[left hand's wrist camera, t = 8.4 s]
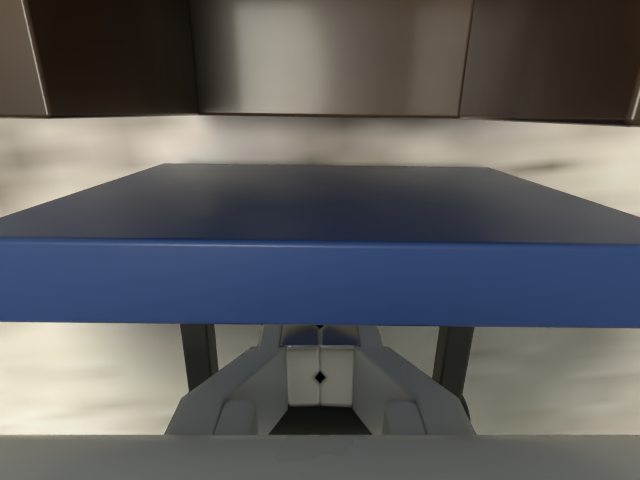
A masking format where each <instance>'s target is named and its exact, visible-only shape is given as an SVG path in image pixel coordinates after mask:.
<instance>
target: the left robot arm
mask: <svg viewBox="0 0 640 480" xmlns="http://www.w3.org/2000/svg"><path fill="white" fill-rule="evenodd" d="M288 407H353V410H354V412H355V413H356V414H357V415H358V417H359V418H360V419H361V421H362V422H363V423H364V425H365V426H366V427H367V428H368V430H369V431H370V432H371V434H372V435H268V434H269V433H270V432H271V430H272V429H273V428H274V426H275V425H276V424H277V423H278V421H279V420H280V419H281V417H282V416H283V415H284V414H285V412H286V411H287V410H288ZM0 480H640V435H476V433H475V431H474V429H473V427H472V425H471V423H470V421H469V418H468V416H467V414H466V412H465V410H464V408H463V406H462V404H461V402H460V399H459V398H458V397H456V396H455V395H454V394H452V393H451V392H449V391H448V390H447V389H445V388H444V387H443V386H441V385H440V384H438V383H437V382H436V381H434V380H433V379H432V378H430V377H429V376H427V375H426V374H425V373H423V372H422V371H421V370H419V369H418V368H416V367H415V366H414V365H412V364H411V363H410V362H408V361H407V360H405V359H404V358H403V357H401V356H400V355H399V354H397V353H396V352H395V351H393V350H392V349H390V348H389V347H383V345H382V341H381V338H380V334H379V330H378V326H369V325H270V324H263V327H262V331H261V334H260V338H259V342H258V346H257V347H251V348H250V349H248V350H247V351H246V352H244V353H243V354H242V355H240V356H239V357H237V358H236V359H235V360H233V361H232V362H231V363H229V364H228V365H226V366H225V367H224V368H222V369H221V370H220V371H218V372H217V373H215V374H214V375H213V376H211V377H210V378H209V379H207V380H206V381H204V382H203V383H202V384H200V385H199V386H197V387H196V388H195V389H193V390H192V391H191V392H189V393H188V394H186V395H185V396H184V397H182V398H181V400H180V402H179V405H178V407H177V409H176V411H175V413H174V415H173V417H172V419H171V421H170V423H169V425H168V428H167V430H166V432H165V434H164V435H0Z"/></svg>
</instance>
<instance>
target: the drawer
mask: <svg viewBox="0 0 640 480" xmlns="http://www.w3.org/2000/svg"><path fill="white" fill-rule="evenodd" d="M188 115H216V116H287V117H359V118H430V119H472V120H494V121H515V122H536V123H557V124H579V125H600V126H621V127H640V0H0V118H23V119H66V118H107V117H147V116H188ZM0 322H71V323H170V324H180V326H181V334H182V341H183V349H184V357H185V364H186V372H187V379H188V387H189V392H191V391H192V390H193V389H195V388H196V387H197V386H199V385H200V384H202V383H203V382H204V381H206V380H207V379H209V378H210V377H211V376H213V375H214V374H215V373H217V372H218V360H217V350H216V340H215V329H214V324H270V325H369V326H440V328H439V335H438V342H437V349H436V356H435V363H434V370H433V377H432V379H433V380H434V381H436V382H437V383H438V384H440V385H441V386H443V387H444V388H445V389H447V390H448V391H449V392H451V393H452V394H454V395H455V396H456V397H458V398H459V399H460V402H461V404H462V406H463V408H464V410H465V412H466V414H467V416H468V418H469V421H470V415H469V411H468V407H467V404H466V401H465V399H464V397H463V396H462V393H463V387H464V382H465V376H466V370H467V365H468V359H469V354H470V348H471V343H472V337H473V332H474V327H568V328H640V217H637V216H634V215H631V214H628V213H625V212H622V211H619V210H616V209H613V208H610V207H607V206H604V205H601V204H598V203H595V202H592V201H589V200H586V199H582V198H579V197H576V196H573V195H570V194H567V193H564V192H561V191H558V190H555V189H552V188H549V187H546V186H543V185H540V184H537V183H534V182H531V181H527V180H524V179H521V178H518V177H515V176H512V175H509V174H506V173H503V172H500V171H497V170H494V169H491V168H471V167H395V166H318V165H242V164H165V163H164V164H161V165H158V166H155V167H152V168H149V169H146V170H143V171H140V172H137V173H134V174H131V175H128V176H125V177H122V178H119V179H116V180H113V181H110V182H107V183H104V184H101V185H98V186H95V187H92V188H89V189H86V190H83V191H80V192H77V193H74V194H71V195H68V196H65V197H62V198H59V199H56V200H52V201H49V202H46V203H43V204H40V205H37V206H34V207H31V208H28V209H25V210H22V211H19V212H16V213H13V214H10V215H7V216H4V217H1V218H0ZM189 392H188V393H189ZM470 423H471V422H470ZM268 435H372V434H371V432H370V431H369V430H368V428H367V427H366V426H365V425H364V423H363V422H362V421H361V419H360V418H359V417H358V415H357V414H356V413H355V412H354V410H353V407H288V410H287V411H286V412H285V414H284V415H283V416H282V417H281V419H280V420H279V421H278V423H277V424H276V425H275V426H274V428H273V429H272V430H271V432H270V433H269V434H268Z"/></svg>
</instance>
